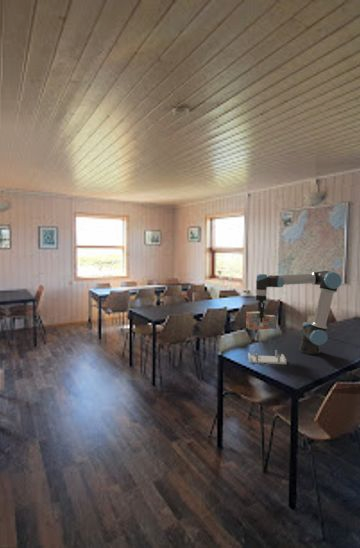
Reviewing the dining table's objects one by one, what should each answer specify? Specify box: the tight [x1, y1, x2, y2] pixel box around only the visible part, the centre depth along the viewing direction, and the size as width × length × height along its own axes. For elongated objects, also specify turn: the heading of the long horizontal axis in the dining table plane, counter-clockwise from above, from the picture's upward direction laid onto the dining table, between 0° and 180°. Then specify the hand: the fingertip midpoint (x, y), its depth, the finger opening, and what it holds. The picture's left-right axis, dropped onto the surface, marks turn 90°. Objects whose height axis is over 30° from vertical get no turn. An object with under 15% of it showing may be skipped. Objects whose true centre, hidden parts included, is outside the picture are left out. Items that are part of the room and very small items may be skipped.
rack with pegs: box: [247, 348, 288, 365], centre depth 231 cm, size 25×13×6 cm, turn 84°
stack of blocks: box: [245, 310, 277, 331], centre depth 240 cm, size 21×6×12 cm, turn 99°
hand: (260, 325), depth 240 cm, fingers closed on stack of blocks, 7 cm apart
